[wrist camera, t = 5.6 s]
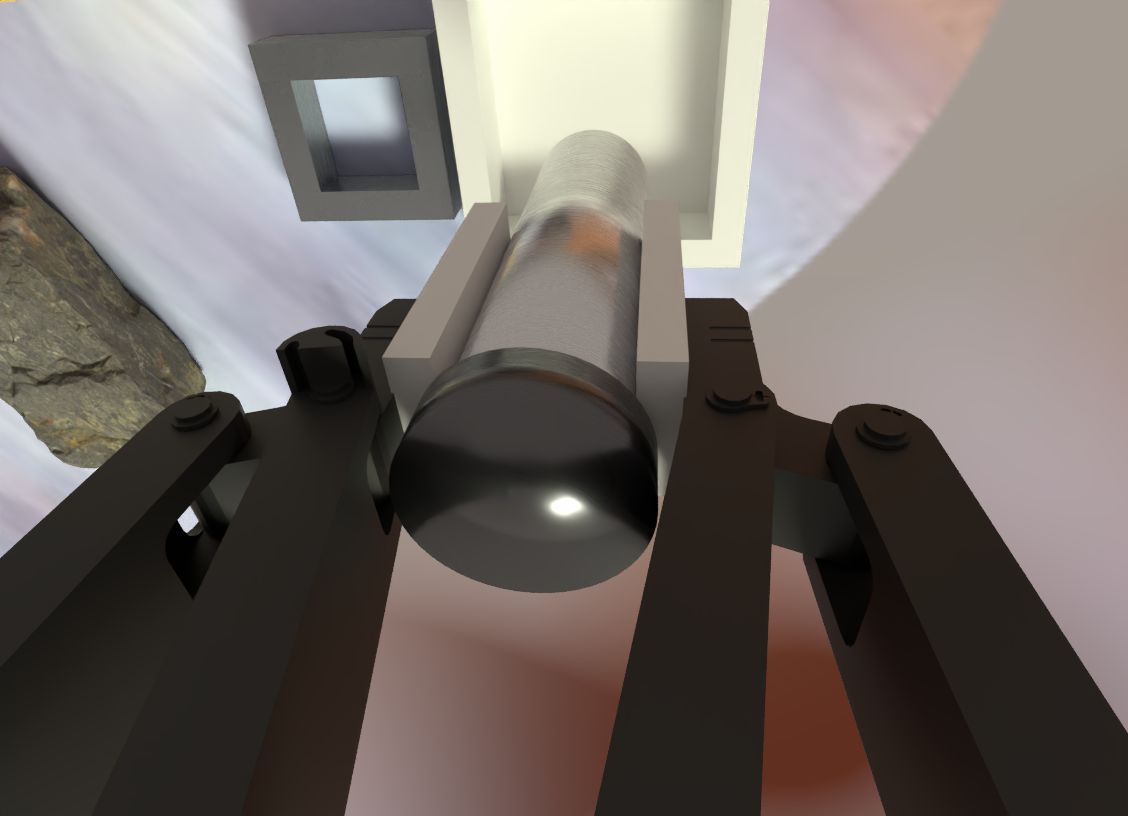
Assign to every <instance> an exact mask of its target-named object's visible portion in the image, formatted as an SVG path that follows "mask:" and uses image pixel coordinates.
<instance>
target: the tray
mask: <svg viewBox="0 0 1128 816" xmlns="http://www.w3.org/2000/svg"><path fill="white" fill-rule="evenodd" d="M769 1H770V0H432V4H433V10H434V17H435V24H436V30H437V37H438V44H439V50H440V57H441V64H442V71H443V77H444V84H445V91H446V97H447V104H448V111H449V117H450V124H451V131H452V137H453V144H454V151H455V158H456V164H457V171H458V178H459V184H460V191H461V198H462V204H463V211H464V218H466V216H467V214H468V213H469V211H470V209H471V208H472V206H473V204H474V203H491V202H507V210H508V219H509V228H510V237H511V238H512V236H513V234H514V231H515V229H516V227H517V224H518V222H519V220H520V217H521V215H522V213H523V210H524V208H525V206H526V203H527V201H528V199H529V196H530V194H531V192H532V189H533V187H534V185H535V182H536V180H537V178H538V175H539V173H540V171H541V168H542V166H543V164H544V161H545V159H546V157H547V156H548V154H549V152H550V151H551V150H552V148H553V147H554V146H555V145H556V144H557V143H558V142H560V141H561V140H562V139H564V138H565V137H567V136H569V135H571V134H573V133H576V132H579V131H584V130H602V131H607V132H610V133H613V134H615V135H618V136H620V137H621V138H623V139H624V140H626V141H627V142H628V143H629V144H630V145H632V147H633V148H634V149H635V150H636V151H637V153H638V154H639V156H640V157H641V159H642V161H643V163H644V166H645V169H646V173H647V181H648V190H647V200H678V202H679V217H680V232H681V248H682V263H683V268H709V267H740V259H741V250H742V241H743V232H744V223H745V214H746V205H747V196H748V188H749V179H750V170H751V161H752V152H753V143H754V134H755V126H756V117H757V108H758V99H759V90H760V81H761V72H762V63H763V55H764V46H765V37H766V28H767V19H768V10H769Z"/></svg>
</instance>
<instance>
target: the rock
mask: <svg viewBox="0 0 1128 816" xmlns="http://www.w3.org/2000/svg"><path fill="white" fill-rule="evenodd" d="M205 385H206V379H205V376H204V375H203V373H202V372H201V371H200V370H199V368H198V367H197V366H196V364H195V363H194V361H193V360H192V358H191V356H190V354H189V352H188V350H187V348H186V347H185V345H184V344H183V343H182V342H181V341H180V340H179V339H178V338H176V337H175V336H174V335H173V334H172V332H171V331H170V330H169V329H168V328H167V327H166V325H165V324H164V323H163V322H162V321H160V320H159V319H157V318H156V317H155V316H154V315H153V314H152V313H150V312H149V311H148V310H147V309H145V308H144V307H143V306H141V305H140V304H138V303H137V302H136V301H135V300H134V299H132V298H131V297H130V295H129V294H128V293H127V292H126V291H125V290H124V289H123V285H122V283H121V282H120V280H119V279H118V277H117V276H116V274H115V273H114V272H113V271H112V270H111V269H110V268H109V267H108V266H107V265H106V264H105V263H104V262H103V261H102V260H101V259H100V258H99V256H98V255H97V254H96V252H95V251H94V249H93V247H92V246H91V245H90V244H88V243H87V242H86V241H85V239H84V238H83V236H82V235H81V234H80V233H79V232H78V231H76V230H75V229H74V228H73V227H72V226H71V225H70V224H69V223H68V222H67V221H66V220H65V219H64V217H63V216H61V215H60V214H59V213H58V212H56V211H55V210H54V209H53V208H52V207H50V206H49V205H48V204H47V203H46V202H45V201H44V200H43V199H41V198H40V197H39V196H38V195H37V194H36V193H35V192H34V191H33V190H32V189H31V188H30V187H28V186H27V185H26V184H25V183H24V182H23V181H22V180H21V179H20V178H19V177H18V176H17V175H16V174H15V173H14V172H12V171H11V170H10V169H8V168H7V167H0V398H1V399H2V400H4V401H5V402H6V403H8V404H9V405H10V406H12V407H13V408H14V409H15V410H16V411H17V412H18V413H19V414H20V415H21V416H22V417H23V419H24V420H25V422H26V423H27V424H28V425H29V426H30V427H31V428H32V429H33V430H34V432H35V434H36V436H37V439H39V440H41V441H42V442H44V443H45V444H46V445H47V447H48V448H49V450H50V452H51V453H52V454H54V455H55V456H56V457H57V458H59V459H60V460H61V461H62V462H64V463H67V464H69V465H72V466H76V467H80V468H98V467H100V466H102V465H103V464H104V463H105V462H106V461H107V460H108V459H109V458H110V457H111V456H112V455H114V454H115V453H116V452H117V451H118V450H119V449H120V448H121V447H122V446H123V445H124V444H126V443H127V442H128V441H129V440H130V439H131V438H132V437H133V436H134V435H135V434H136V433H138V432H139V431H140V430H141V429H142V428H143V427H144V426H145V425H146V424H147V423H148V422H150V421H151V420H152V419H153V418H154V417H155V416H156V415H157V414H158V413H159V412H161V411H162V410H164V409H165V408H167V407H168V406H169V405H171V404H172V403H174V402H177V401H179V400H181V399H183V398H185V397H186V396H189V395H193V394H197V393H202V392H204V390H205Z"/></svg>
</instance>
